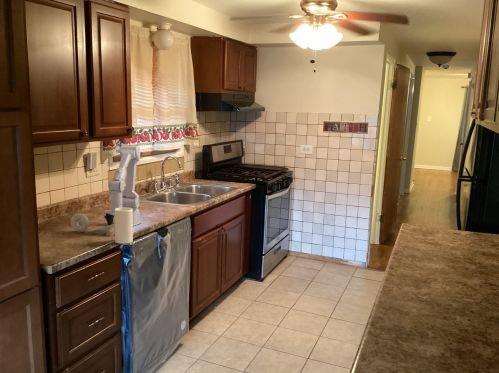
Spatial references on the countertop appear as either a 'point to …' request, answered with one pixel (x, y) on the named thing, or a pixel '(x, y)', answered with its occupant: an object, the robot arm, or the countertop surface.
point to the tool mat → (99, 231)
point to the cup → (123, 225)
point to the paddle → (110, 230)
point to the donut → (75, 222)
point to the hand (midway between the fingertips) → (116, 229)
